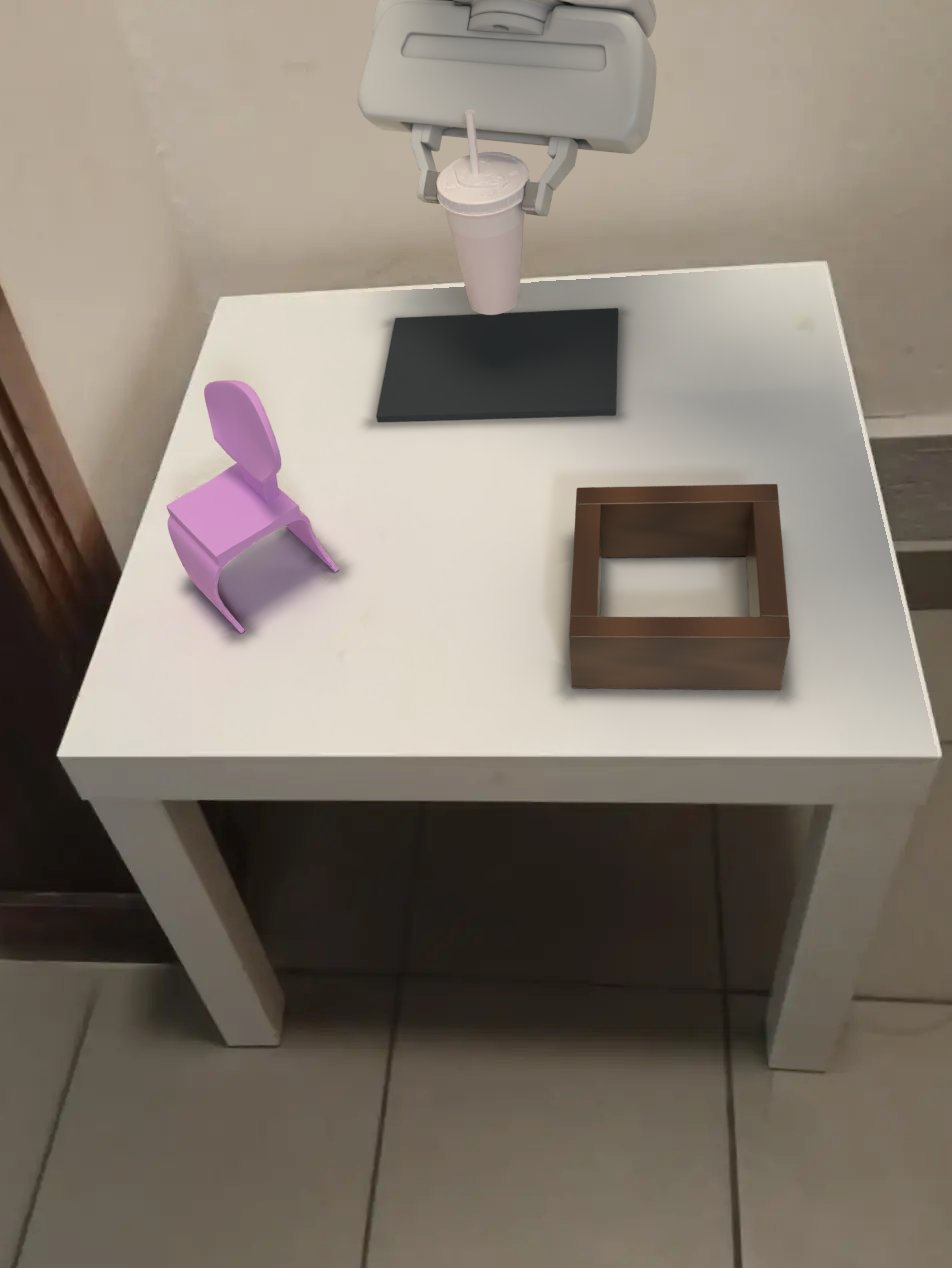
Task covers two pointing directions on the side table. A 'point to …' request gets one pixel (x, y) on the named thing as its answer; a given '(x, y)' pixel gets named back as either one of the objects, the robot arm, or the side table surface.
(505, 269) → the smoothie
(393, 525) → the side table surface
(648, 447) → the side table surface
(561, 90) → the robot arm
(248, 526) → the toy chair
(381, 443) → the side table surface
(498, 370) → the mat
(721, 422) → the side table surface
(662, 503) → the crate
